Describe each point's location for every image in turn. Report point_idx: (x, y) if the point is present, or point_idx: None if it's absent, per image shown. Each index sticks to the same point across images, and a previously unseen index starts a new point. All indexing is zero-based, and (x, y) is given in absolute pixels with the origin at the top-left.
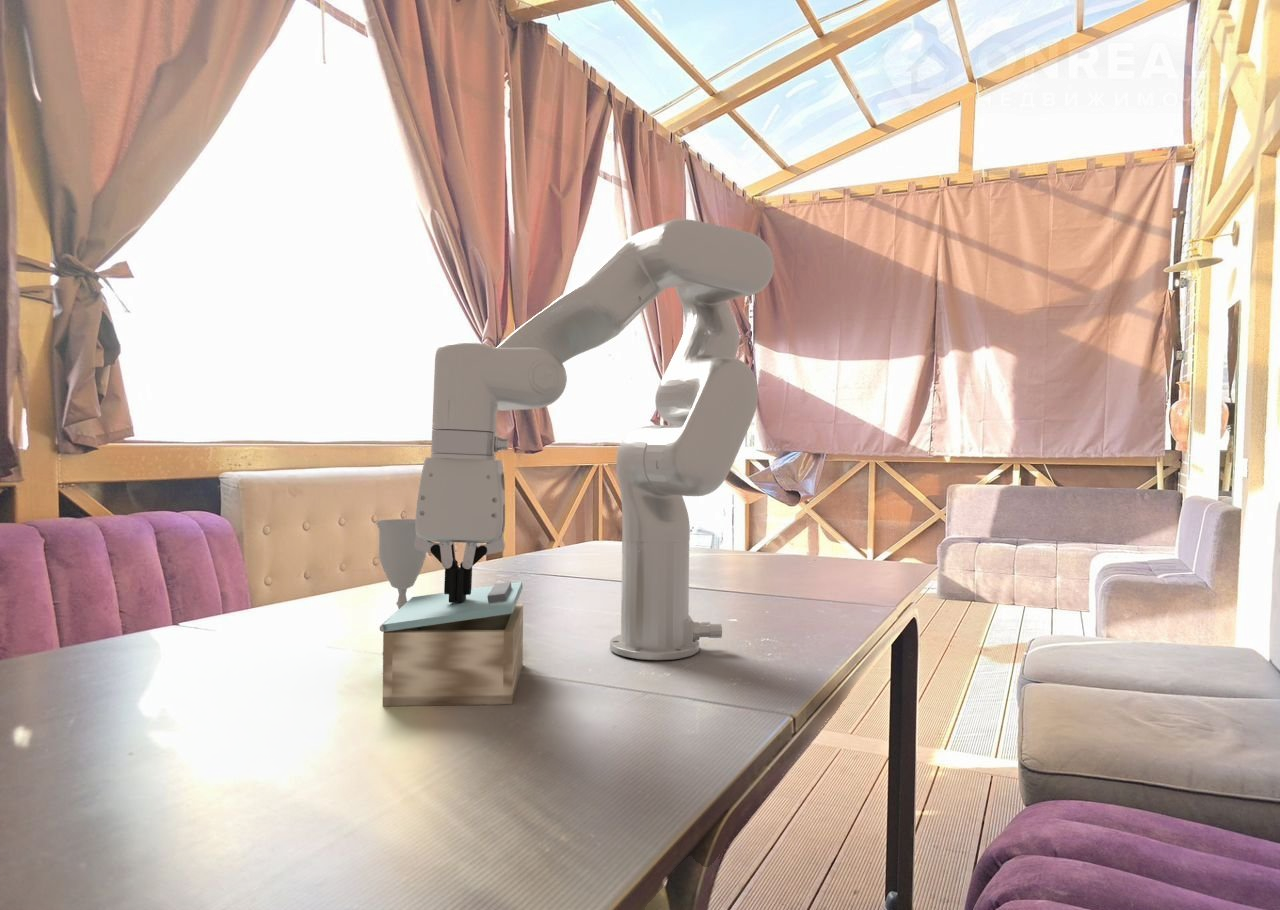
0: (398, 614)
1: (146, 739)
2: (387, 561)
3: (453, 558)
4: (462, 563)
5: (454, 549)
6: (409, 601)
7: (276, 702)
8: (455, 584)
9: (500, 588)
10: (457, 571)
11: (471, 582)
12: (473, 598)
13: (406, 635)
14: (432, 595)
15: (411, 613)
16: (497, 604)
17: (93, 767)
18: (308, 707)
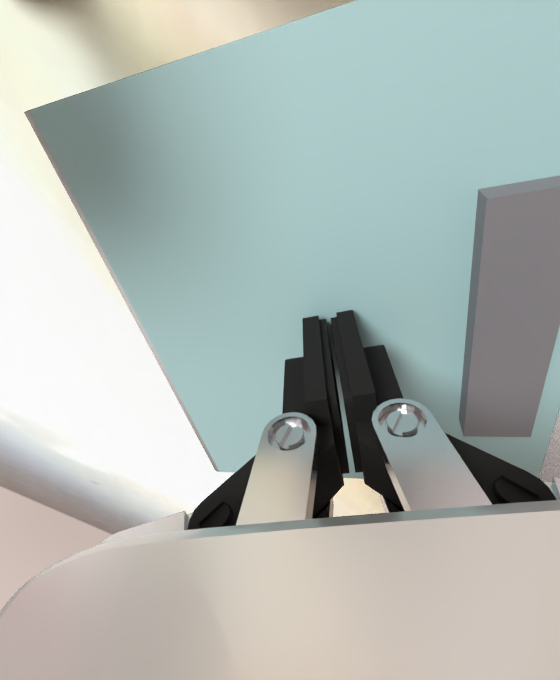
0: (197, 406)
1: (71, 461)
2: None
3: (317, 474)
4: (381, 499)
5: (310, 495)
6: (94, 226)
7: (87, 364)
8: (343, 429)
9: (517, 337)
10: (355, 472)
11: (391, 368)
12: (386, 320)
13: None
14: (126, 127)
15: (234, 414)
16: (491, 449)
17: (97, 500)
18: (146, 376)
